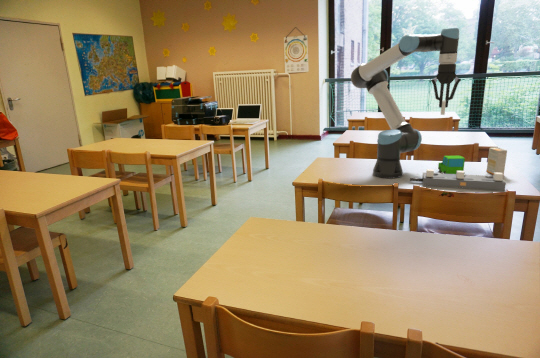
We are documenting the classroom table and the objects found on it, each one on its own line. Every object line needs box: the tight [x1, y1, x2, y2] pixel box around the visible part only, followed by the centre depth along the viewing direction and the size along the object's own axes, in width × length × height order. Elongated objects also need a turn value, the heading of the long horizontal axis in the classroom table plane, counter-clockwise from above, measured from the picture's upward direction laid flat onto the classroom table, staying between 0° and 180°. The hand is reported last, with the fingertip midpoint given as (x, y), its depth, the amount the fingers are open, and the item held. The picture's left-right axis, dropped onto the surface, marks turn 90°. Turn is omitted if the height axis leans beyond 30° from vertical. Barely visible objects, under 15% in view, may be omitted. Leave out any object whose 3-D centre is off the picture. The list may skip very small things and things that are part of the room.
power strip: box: [409, 172, 507, 192], centre depth 174 cm, size 40×10×4 cm, turn 70°
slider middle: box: [456, 171, 466, 179], centre depth 171 cm, size 3×3×3 cm
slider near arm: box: [425, 168, 435, 177], centre depth 175 cm, size 3×3×3 cm
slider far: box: [492, 172, 504, 181], centre depth 166 cm, size 3×3×3 cm
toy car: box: [437, 155, 466, 174], centre depth 192 cm, size 10×13×10 cm
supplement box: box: [486, 146, 508, 176], centre depth 189 cm, size 8×5×13 cm, turn 179°
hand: (442, 114), depth 177 cm, fingers closed
